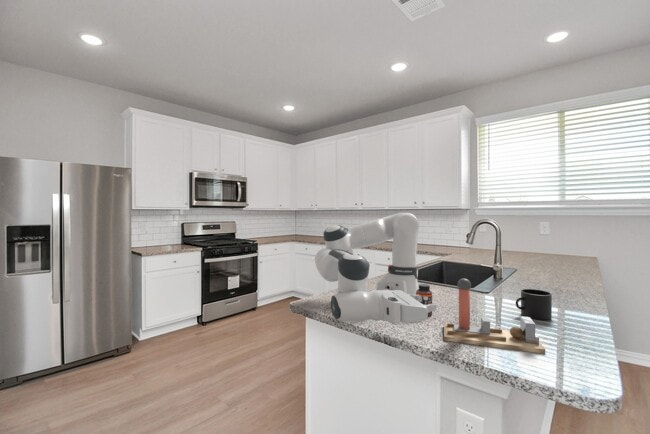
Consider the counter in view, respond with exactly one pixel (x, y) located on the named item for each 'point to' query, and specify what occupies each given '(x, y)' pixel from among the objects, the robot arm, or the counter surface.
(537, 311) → the mug
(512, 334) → the walnut
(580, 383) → the counter surface
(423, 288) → the supplement bottle
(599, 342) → the counter surface
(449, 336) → the wooden base board
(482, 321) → the lever
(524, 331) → the block
